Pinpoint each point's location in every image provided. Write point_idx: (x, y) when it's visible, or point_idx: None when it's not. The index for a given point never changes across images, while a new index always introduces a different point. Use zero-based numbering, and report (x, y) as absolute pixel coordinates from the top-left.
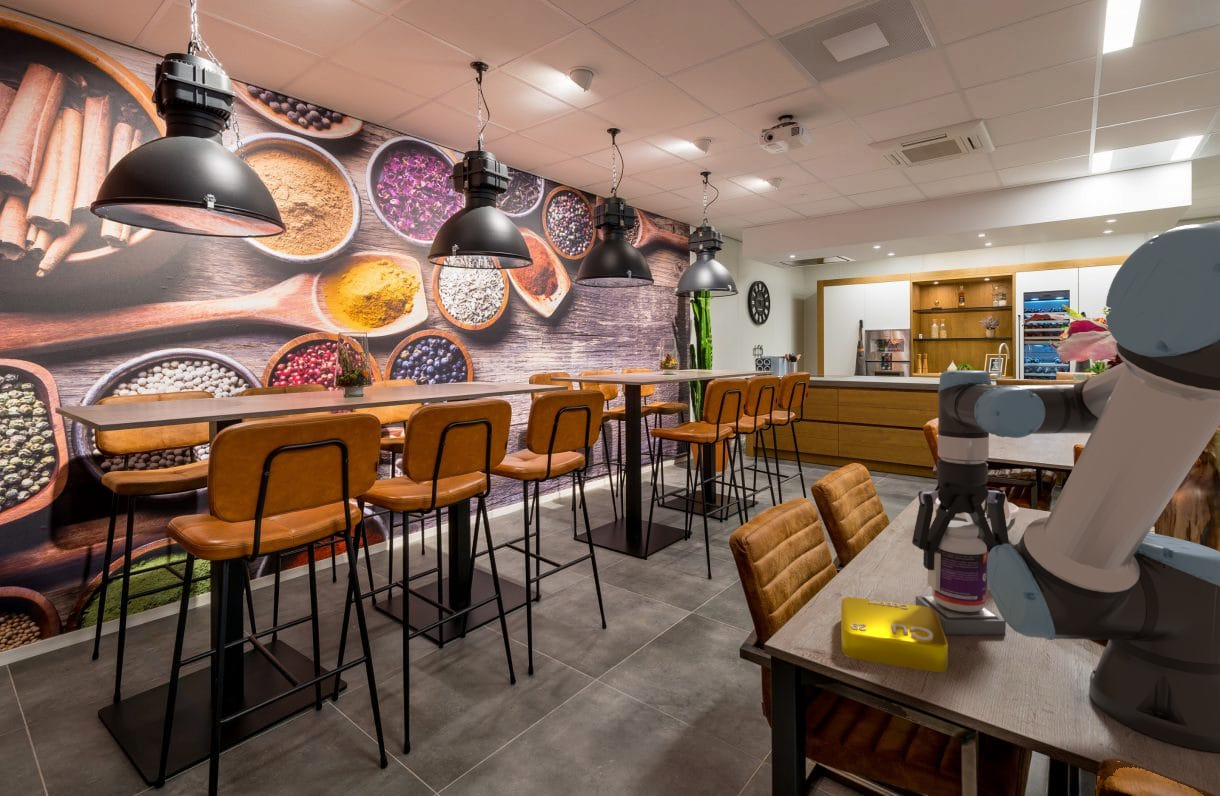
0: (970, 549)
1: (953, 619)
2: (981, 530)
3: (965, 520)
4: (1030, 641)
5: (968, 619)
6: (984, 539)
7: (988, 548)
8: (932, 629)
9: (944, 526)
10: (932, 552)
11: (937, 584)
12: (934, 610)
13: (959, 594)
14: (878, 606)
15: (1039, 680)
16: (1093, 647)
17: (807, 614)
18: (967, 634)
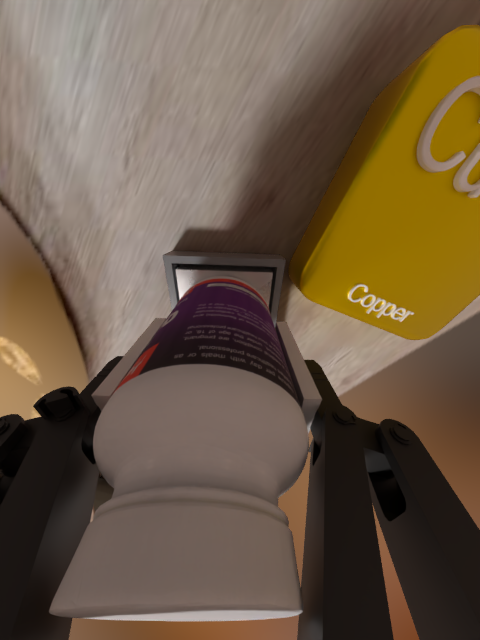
0: (209, 390)
1: (260, 270)
2: (53, 551)
3: (95, 510)
4: (137, 223)
5: (231, 269)
6: (81, 471)
7: (92, 422)
8: (390, 168)
9: (351, 626)
10: (337, 406)
11: (285, 329)
12: (274, 304)
13: (249, 293)
14: (404, 298)
15: (201, 3)
16: (23, 190)
17: (441, 331)
18: (239, 253)
